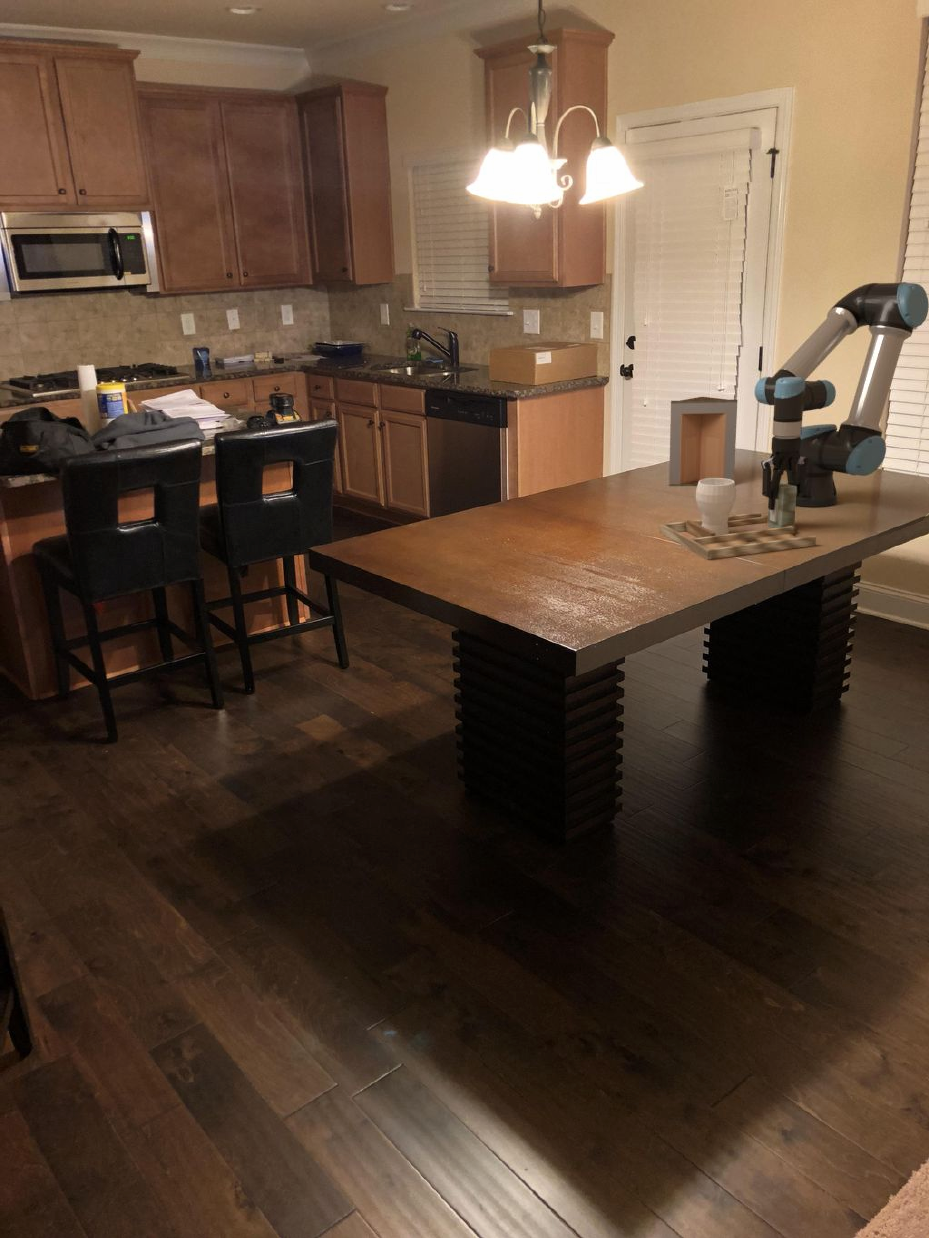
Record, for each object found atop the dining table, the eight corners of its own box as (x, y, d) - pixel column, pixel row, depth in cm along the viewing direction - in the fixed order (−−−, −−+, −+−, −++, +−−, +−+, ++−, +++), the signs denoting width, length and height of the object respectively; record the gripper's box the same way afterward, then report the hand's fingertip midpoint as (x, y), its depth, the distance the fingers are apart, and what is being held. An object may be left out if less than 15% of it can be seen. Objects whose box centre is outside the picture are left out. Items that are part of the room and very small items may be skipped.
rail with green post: (772, 520, 280) (775, 479, 276) (802, 532, 267) (805, 489, 263) (685, 531, 274) (686, 489, 270) (710, 544, 261) (712, 500, 257)
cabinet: (669, 486, 327) (671, 401, 317) (669, 479, 336) (671, 397, 326) (733, 486, 322) (737, 400, 313) (732, 479, 331) (736, 395, 321)
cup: (736, 540, 263) (738, 485, 258) (695, 540, 265) (697, 486, 260) (732, 530, 273) (734, 477, 268) (693, 530, 275) (695, 477, 269)
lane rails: (759, 520, 281) (759, 512, 280) (815, 545, 255) (816, 536, 254) (659, 532, 274) (660, 524, 273) (707, 559, 248) (707, 550, 248)
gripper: (806, 431, 270) (801, 513, 278) (750, 436, 266) (746, 520, 274) (822, 435, 263) (816, 519, 271) (765, 441, 259) (760, 526, 267)
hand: (781, 519), depth 272 cm, fingers closed on rail with green post, 4 cm apart
